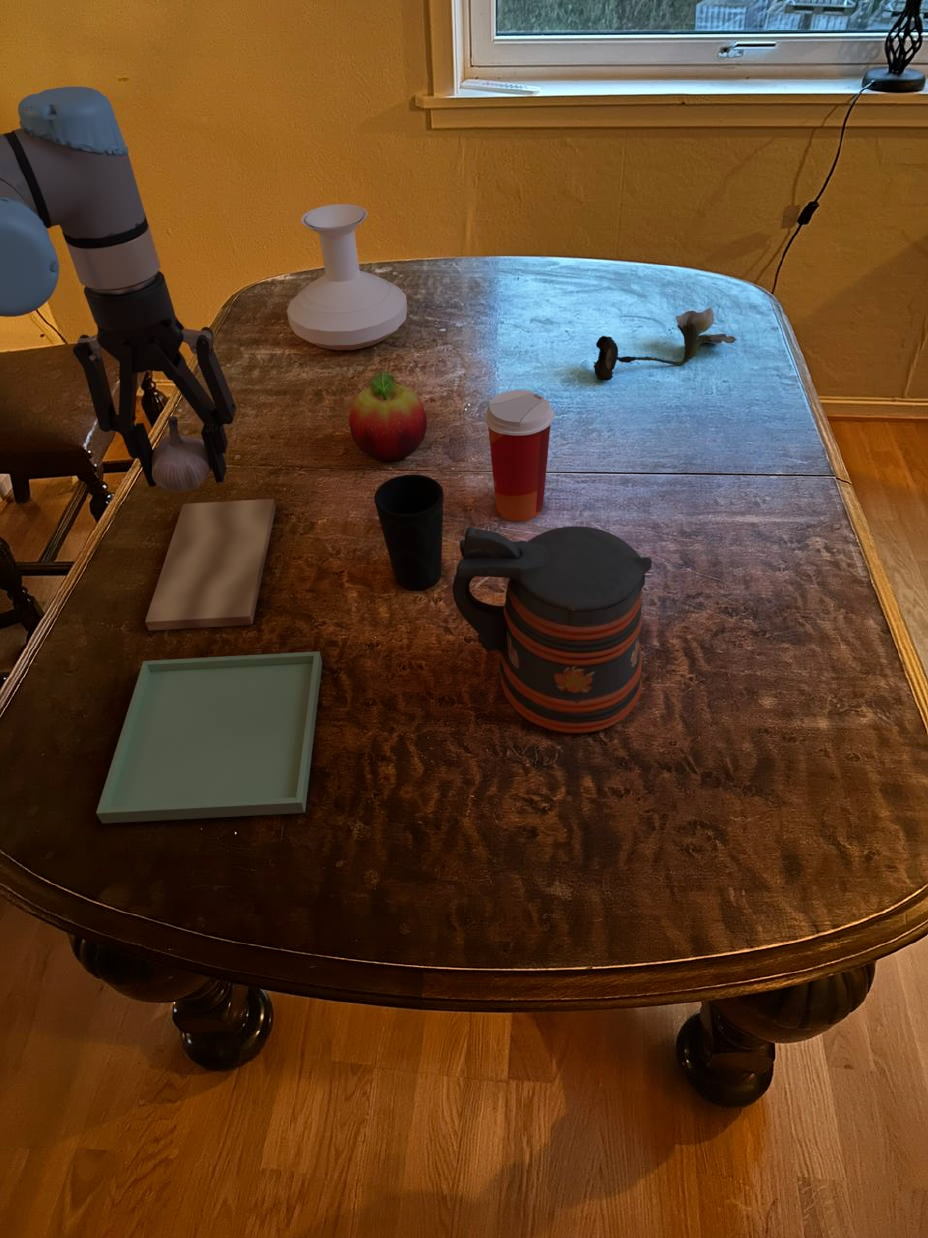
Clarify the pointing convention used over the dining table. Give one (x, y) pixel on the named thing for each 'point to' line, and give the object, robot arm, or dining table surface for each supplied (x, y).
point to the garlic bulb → (179, 461)
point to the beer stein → (560, 622)
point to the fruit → (387, 420)
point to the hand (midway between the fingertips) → (188, 477)
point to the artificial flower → (689, 327)
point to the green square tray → (215, 739)
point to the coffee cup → (519, 451)
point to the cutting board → (213, 566)
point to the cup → (412, 528)
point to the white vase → (344, 289)
